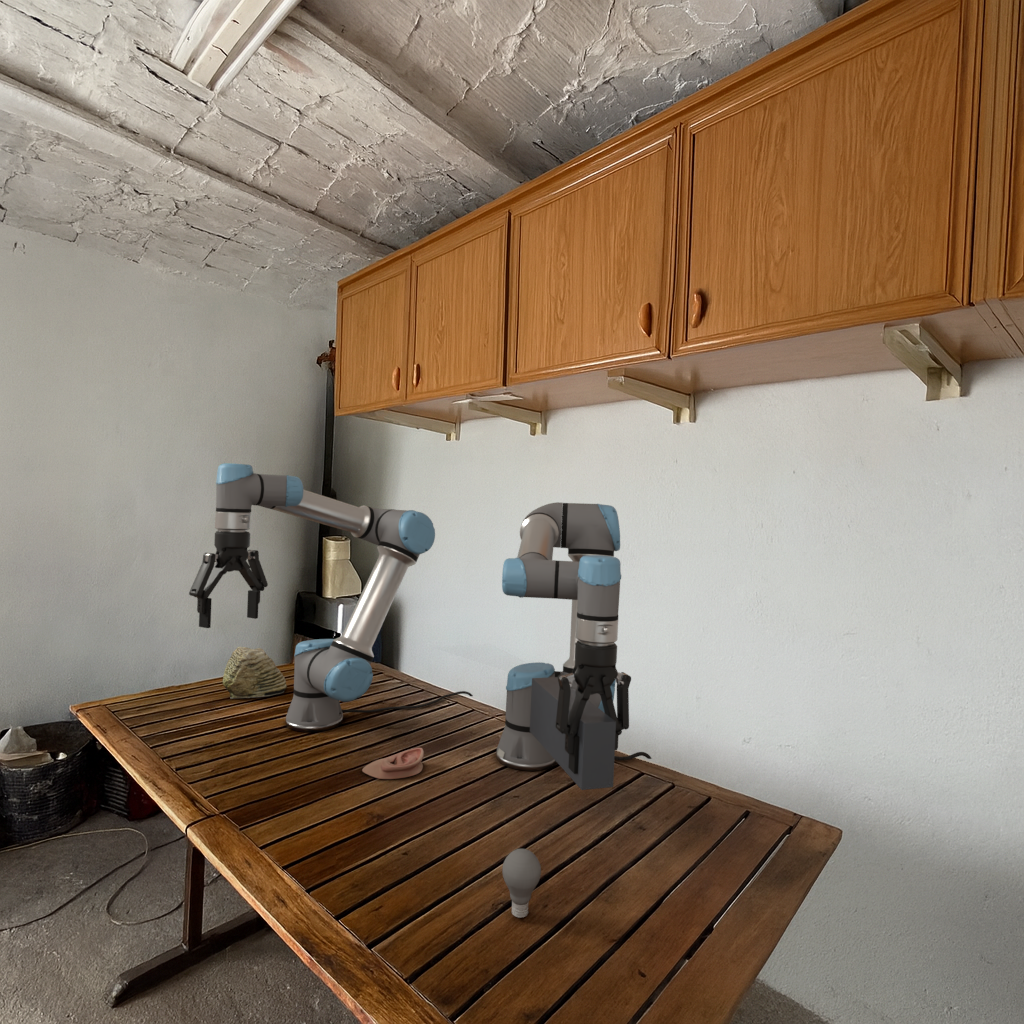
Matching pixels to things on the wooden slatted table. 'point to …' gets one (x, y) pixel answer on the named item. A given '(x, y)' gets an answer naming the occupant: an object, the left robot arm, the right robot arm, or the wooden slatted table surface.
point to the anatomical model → (397, 765)
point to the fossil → (252, 674)
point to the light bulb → (521, 878)
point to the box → (592, 733)
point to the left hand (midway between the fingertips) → (229, 622)
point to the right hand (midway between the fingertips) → (590, 768)
